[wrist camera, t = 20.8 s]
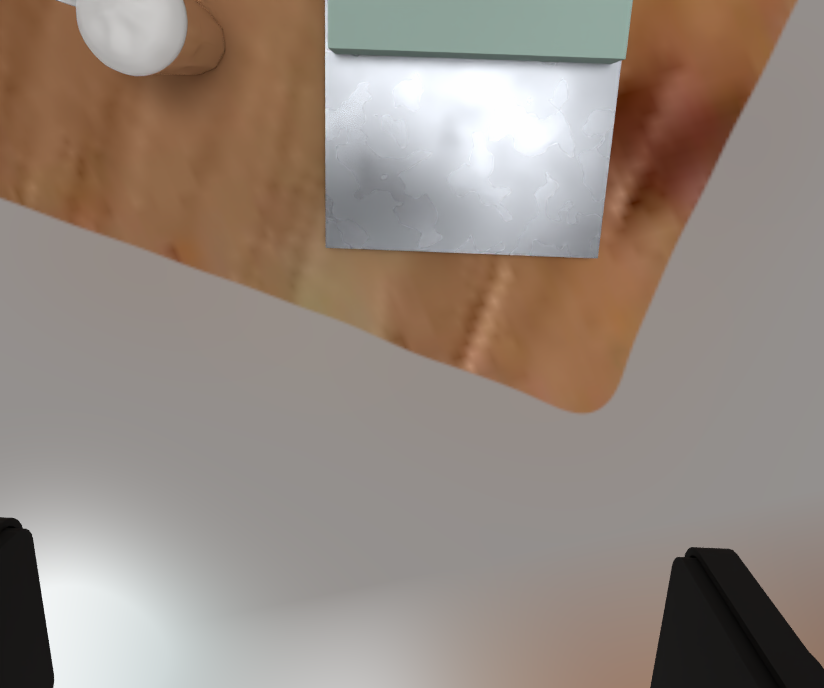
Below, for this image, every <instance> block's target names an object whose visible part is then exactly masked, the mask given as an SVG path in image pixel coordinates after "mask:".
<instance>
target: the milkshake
mask: <svg viewBox="0 0 824 688" xmlns="http://www.w3.org/2000/svg"><path fill="white" fill-rule="evenodd" d="M56 1H60V2H63V3H66V4H69V5H72V6H75V7H76V17H77V23H78V27H79V31H80V33H81V35H82V37H83V39H84V41H85V43H86V44H87V46H88V47H89V49H90V50H91V51H92V52H93V54H94V55H95V56H96V57H97V58H98V59H99V60H100V61H101V62H103V63H104V64H105V65H107V66H108V67H110V68H112V69H114V70H116V71H118V72H121V73H124V74H127V75H132V76H147V75H161V74H170V75H199V74H202V73H204V72H206V71H209V70H211V69H214V68H216V67H217V65H218V63H219V61H220V59H221V57H222V55H223V53H224V52H225V45H224V37H223V29H222V28H221V27H220V25H219V24H218V23H217V22H216V20H215V19H214V18H213V17H212V15H211V14H210V13H209V12H208V11H207V10H206V9H205V8H204V7H202V6H201V5H200V4H199V3H198V2H197V1H195V0H56Z"/></svg>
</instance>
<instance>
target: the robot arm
mask: <svg viewBox="0 0 824 688" xmlns="http://www.w3.org/2000/svg"><path fill="white" fill-rule="evenodd" d="M53 685H54V673H53V666H52V659H51V653H50V646H49V640H48V633H47V627H46V620H45V614H44V608H43V601H42V595H41V588H40V582H39V575H38V569H37V562H36V556H35V549H34V543H33V537H32V534H31V533H30V531H29V530H27V529H23V528H22V525H21V523H20V522H19V521H18V520H17V519H15V518H2V517H0V688H53ZM650 688H824V669H823V667H822V666H821V664H820V663H819V662H818V661H817V660H816V659H815V658H814V657H813V656H812V655H811V653H809V651H808V650H807V649H806V647H805V646H804V645H803V643H802V642H801V641H800V639H799V638H798V636H797V635H796V634H795V632H794V631H793V630H792V628H791V627H790V626H789V624H788V623H787V622H786V620H785V619H784V617H783V616H782V615H781V613H780V612H779V611H778V609H777V608H776V607H775V605H774V604H773V603H772V601H771V600H770V599H769V597H768V596H767V595H766V593H765V592H764V590H763V589H762V588H761V587H760V585H759V583H758V582H757V581H756V579H755V578H754V577H753V575H752V574H751V573H750V571H749V570H748V568H747V567H746V566H745V564H744V563H743V562H742V560H741V559H740V558H739V556H738V555H737V554H736V553H735V552H734V551H733V550H731V549H720V548H718V549H717V548H697V547H691V548H689V549H688V550H687V552H686V553H685V557H677V558H676V559H675V560H674V562H673V565H672V570H671V575H670V581H669V587H668V592H667V598H666V603H665V609H664V615H663V620H662V626H661V631H660V637H659V642H658V648H657V654H656V659H655V665H654V670H653V676H652V682H651V687H650Z"/></svg>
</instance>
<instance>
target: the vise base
mask: <svg viewBox="0 0 824 688" xmlns="http://www.w3.org/2000/svg"><path fill="white" fill-rule="evenodd" d="M620 68H621V61H618V62H616V63H613V64H598V63H571V62H544V61H517V60H490V59H463V58H436V57H409V56H382V55H354V54H334V53H333V52H332V51H331V50H330V49H329V48H328V0H325V166H326V248H348V249H374V250H399V251H424V252H450V253H475V254H500V255H526V256H551V257H576V258H598V251H599V243H600V234H601V226H602V218H603V210H604V201H605V193H606V185H607V176H608V168H609V160H610V151H611V143H612V135H613V126H614V118H615V110H616V101H617V93H618V85H619V76H620Z"/></svg>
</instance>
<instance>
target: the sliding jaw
mask: <svg viewBox="0 0 824 688" xmlns="http://www.w3.org/2000/svg"><path fill="white" fill-rule="evenodd" d="M632 2H633V0H328V48H329V49H330V50H331V51H332V52H333V53H334V54H354V55H382V56H409V57H436V58H463V59H490V60H517V61H544V62H571V63H598V64H613V63H616V62H618V61H621V60H624V59H626V51H627V43H628V34H629V26H630V18H631V10H632Z"/></svg>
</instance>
